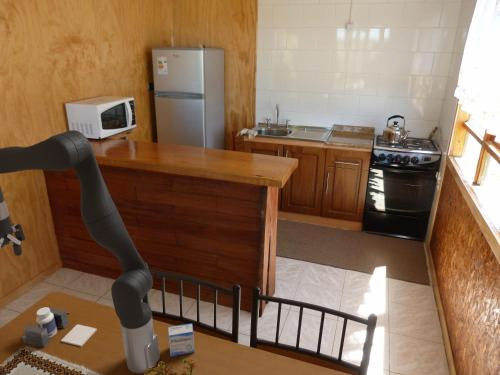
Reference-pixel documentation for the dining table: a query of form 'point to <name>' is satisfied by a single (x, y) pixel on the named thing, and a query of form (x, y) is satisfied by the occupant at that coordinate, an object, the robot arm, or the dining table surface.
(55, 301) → the dining table surface
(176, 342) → the medicine box
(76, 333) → the mat
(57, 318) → the dumbbell
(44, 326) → the pill bottle
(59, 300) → the dining table surface
